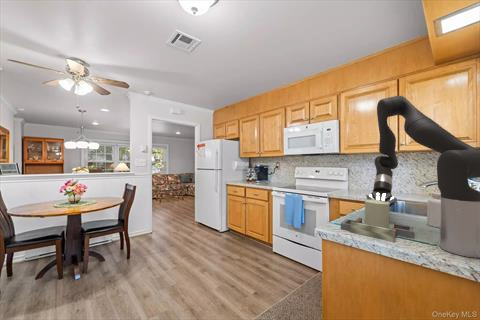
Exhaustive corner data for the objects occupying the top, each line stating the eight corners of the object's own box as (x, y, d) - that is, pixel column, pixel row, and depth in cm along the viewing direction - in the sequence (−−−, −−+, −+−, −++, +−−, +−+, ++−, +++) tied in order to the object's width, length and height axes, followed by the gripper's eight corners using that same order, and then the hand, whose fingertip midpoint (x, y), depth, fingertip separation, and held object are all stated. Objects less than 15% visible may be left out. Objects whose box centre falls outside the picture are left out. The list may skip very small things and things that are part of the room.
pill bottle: (453, 230, 87) (453, 195, 87) (428, 226, 92) (428, 193, 92) (449, 225, 94) (449, 193, 94) (425, 222, 99) (426, 191, 99)
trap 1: (355, 226, 91) (356, 220, 91) (351, 231, 85) (351, 225, 85) (346, 224, 94) (346, 218, 94) (340, 228, 87) (340, 223, 87)
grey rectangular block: (394, 231, 85) (395, 203, 85) (372, 231, 85) (372, 202, 85) (380, 224, 94) (380, 198, 94) (359, 224, 94) (360, 198, 94)
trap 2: (413, 232, 84) (413, 226, 84) (413, 238, 77) (413, 232, 77) (397, 229, 87) (397, 224, 87) (396, 235, 81) (396, 228, 81)
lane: (397, 229, 87) (397, 220, 87) (394, 241, 74) (394, 230, 74) (359, 222, 96) (359, 214, 96) (350, 232, 84) (350, 222, 84)
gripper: (366, 179, 106) (361, 206, 97) (398, 181, 98) (396, 211, 88) (368, 188, 110) (363, 215, 101) (399, 191, 102) (397, 221, 92)
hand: (379, 213), depth 95 cm, fingers closed
